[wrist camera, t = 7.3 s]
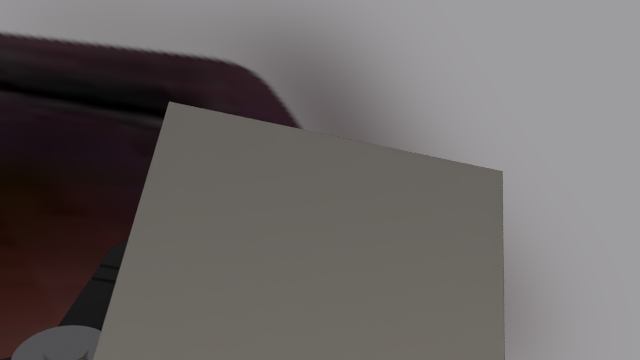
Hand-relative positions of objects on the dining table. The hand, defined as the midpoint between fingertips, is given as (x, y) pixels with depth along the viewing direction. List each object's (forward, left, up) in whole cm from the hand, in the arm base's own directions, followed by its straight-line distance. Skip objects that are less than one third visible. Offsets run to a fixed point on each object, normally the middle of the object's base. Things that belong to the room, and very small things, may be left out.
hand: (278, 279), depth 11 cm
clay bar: (+1, -1, -4) cm, 5 cm away
